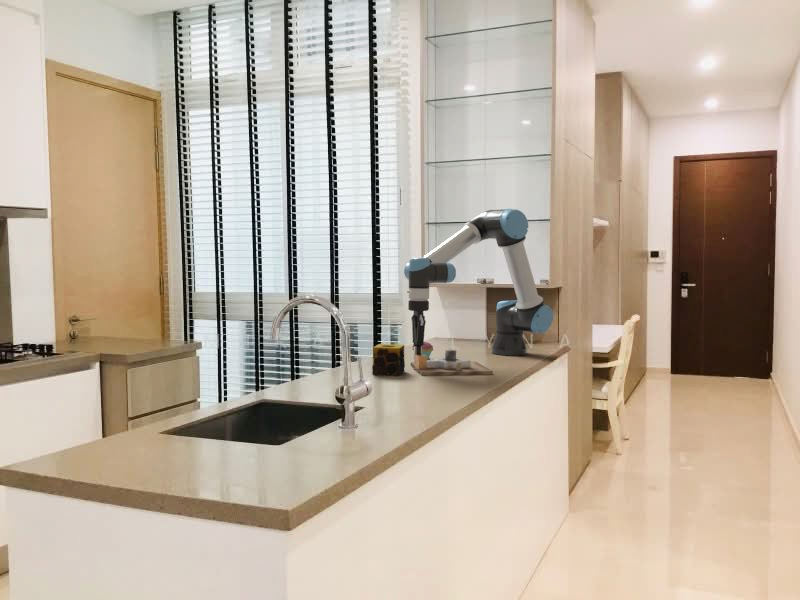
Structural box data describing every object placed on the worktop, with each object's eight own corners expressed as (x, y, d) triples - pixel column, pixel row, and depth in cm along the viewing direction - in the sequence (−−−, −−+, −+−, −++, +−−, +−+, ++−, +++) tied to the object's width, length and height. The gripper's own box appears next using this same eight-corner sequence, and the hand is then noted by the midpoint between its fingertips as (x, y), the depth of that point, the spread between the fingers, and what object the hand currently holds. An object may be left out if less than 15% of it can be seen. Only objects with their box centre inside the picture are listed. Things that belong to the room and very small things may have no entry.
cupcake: (433, 360, 291) (433, 331, 290) (412, 360, 291) (412, 330, 290) (432, 357, 299) (433, 328, 299) (412, 357, 300) (412, 328, 299)
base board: (476, 364, 283) (476, 346, 282) (492, 374, 261) (493, 354, 260) (410, 365, 278) (410, 346, 278) (422, 375, 257) (422, 355, 256)
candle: (399, 376, 255) (400, 348, 254) (371, 375, 257) (372, 347, 256) (405, 371, 265) (405, 344, 264) (378, 370, 267) (378, 343, 266)
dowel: (460, 370, 262) (461, 361, 262) (462, 371, 260) (462, 362, 260) (455, 370, 262) (455, 362, 261) (456, 371, 260) (457, 362, 259)
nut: (455, 363, 277) (456, 350, 276) (470, 367, 267) (471, 354, 267) (410, 366, 268) (410, 353, 268) (423, 370, 258) (424, 357, 258)
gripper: (405, 298, 271) (404, 360, 273) (412, 301, 258) (411, 366, 260) (424, 298, 273) (423, 360, 274) (432, 301, 260) (431, 366, 262)
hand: (417, 363), depth 267 cm, fingers closed
